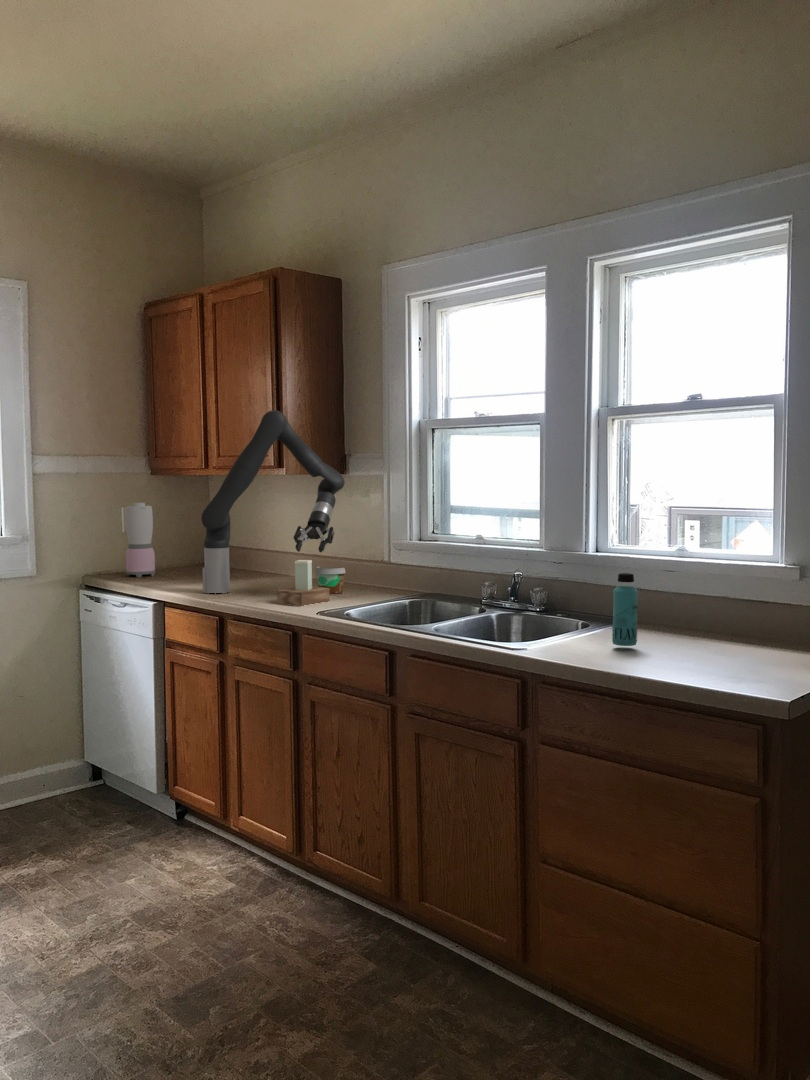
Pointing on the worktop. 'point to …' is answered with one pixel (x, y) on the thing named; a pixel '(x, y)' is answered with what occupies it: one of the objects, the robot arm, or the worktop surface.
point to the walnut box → (303, 596)
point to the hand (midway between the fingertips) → (308, 550)
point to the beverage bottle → (625, 612)
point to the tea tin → (303, 574)
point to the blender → (139, 540)
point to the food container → (331, 579)
